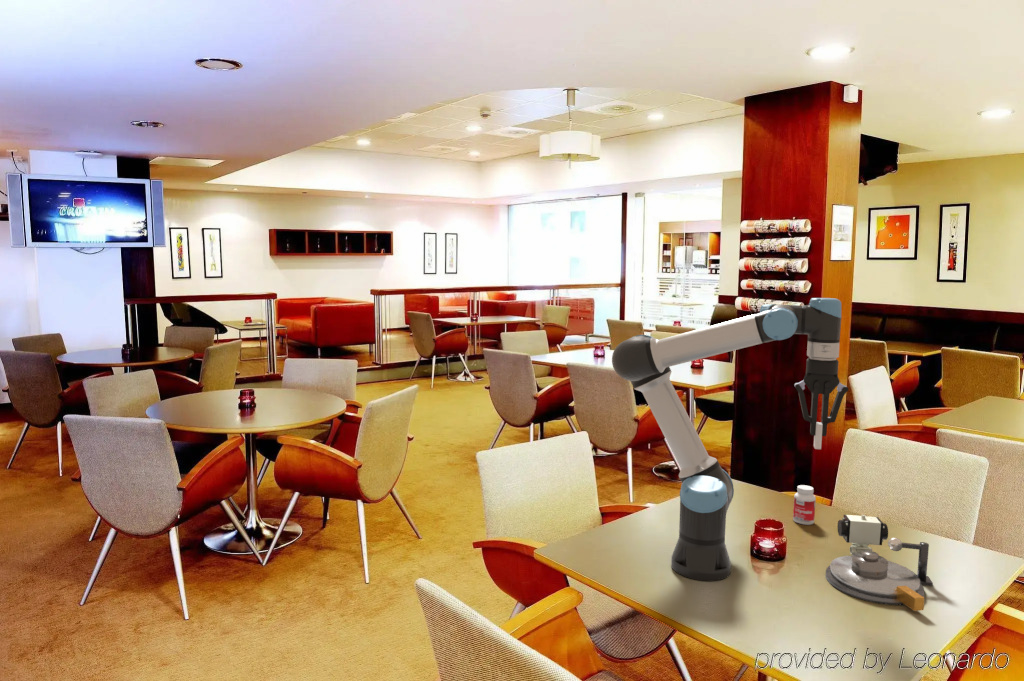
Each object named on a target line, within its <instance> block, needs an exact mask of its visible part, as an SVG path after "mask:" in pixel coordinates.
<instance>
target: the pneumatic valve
mask: <svg viewBox="0 0 1024 681" xmlns="http://www.w3.org/2000/svg"><path fill="white" fill-rule="evenodd" d="M837 533H838V534H837V535H838V536H839V537H842V538H843V539H844V541H845V542H846V544H847V543H849V544H851V545H850V546H849V553H850V556H852V555H853V554H855V553H862V552H863V551H866V550H868V551H873V548H872V547H871V546H870V545H873V546H875V545H876V546H883V542H884V540H885V541H887V540H888V539H889V538H888V537H889V527H888V525H887V523H885V522H883V521H882V520H881V519H880V517H877V516H869V515H867V516H866V514H861V515H858V514H856V515H854V514H853V515H851V514H843V517H842V518H841V519H839V520H838V521H837ZM869 546H870V547H869Z"/></svg>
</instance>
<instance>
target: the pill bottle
mask: <svg viewBox="0 0 1024 681" xmlns="http://www.w3.org/2000/svg"><path fill="white" fill-rule="evenodd" d="M796 487H797V488H796V490H797V492H796V493H794V496H793V498H794V499H793V510H792V511H793V513H792V520H793V522H795V523H797V524H800V525H806V526H810V525H811V526H812V525H813V524H814V523H815V514H816V502H817V500H816V495H815V494H814V492H815V490H814V487H813V486H810V485H805V484H800V485H797V486H796Z"/></svg>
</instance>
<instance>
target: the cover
mask: <svg viewBox="0 0 1024 681" xmlns="http://www.w3.org/2000/svg"><path fill="white" fill-rule="evenodd" d="M851 556H852V572H853V573H855V574H856V575H858V576H861V577H864V578H868V579H874V580H881V579H885V578H887V572H888V561H889V560H887V559H886V558H884V557H883V556H881V555H879V553H878V552H875V551H873V550H872V551H868V550H866V551H863V552H862V553H855V554H853V555H851Z"/></svg>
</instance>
